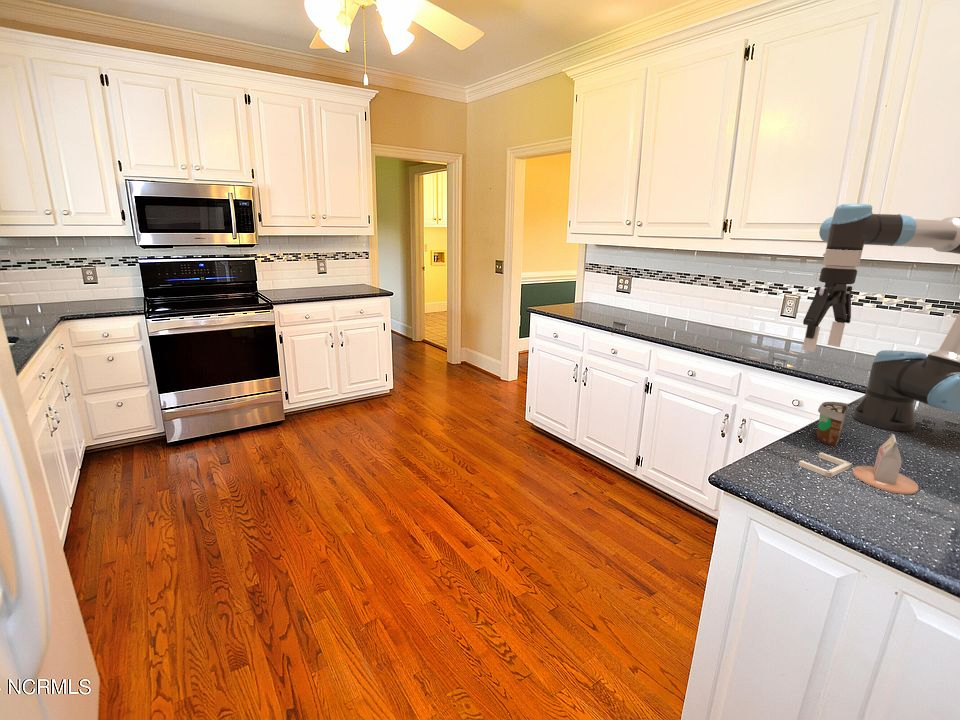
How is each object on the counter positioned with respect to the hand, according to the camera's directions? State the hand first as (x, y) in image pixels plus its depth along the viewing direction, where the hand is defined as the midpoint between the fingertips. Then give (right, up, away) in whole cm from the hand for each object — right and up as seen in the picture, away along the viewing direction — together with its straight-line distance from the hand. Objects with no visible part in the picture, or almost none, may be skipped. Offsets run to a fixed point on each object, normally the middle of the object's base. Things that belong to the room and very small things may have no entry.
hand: (821, 348), depth 128 cm
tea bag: (+4, -31, -15) cm, 35 cm away
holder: (-6, -30, -8) cm, 31 cm away
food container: (+7, -26, +9) cm, 28 cm away
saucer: (+4, -32, -15) cm, 35 cm away
